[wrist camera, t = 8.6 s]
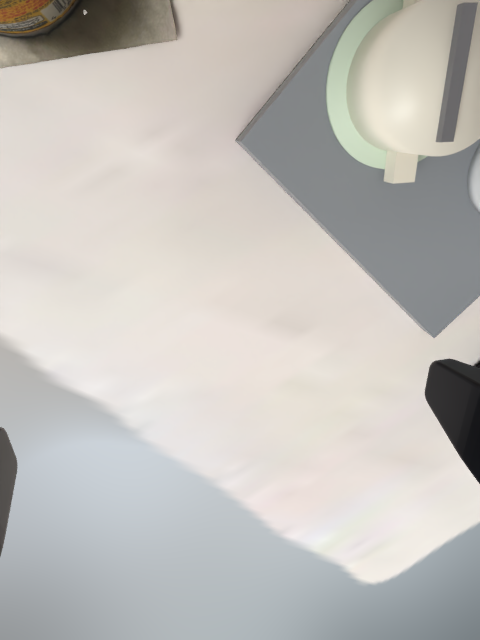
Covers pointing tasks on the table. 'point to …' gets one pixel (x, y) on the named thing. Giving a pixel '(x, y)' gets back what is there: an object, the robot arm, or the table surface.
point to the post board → (372, 181)
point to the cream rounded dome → (418, 83)
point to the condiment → (79, 27)
